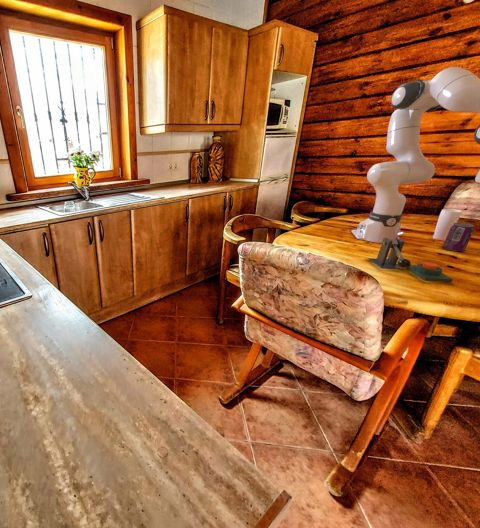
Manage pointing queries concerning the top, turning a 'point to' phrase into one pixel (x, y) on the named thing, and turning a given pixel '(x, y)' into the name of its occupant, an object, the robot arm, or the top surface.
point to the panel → (429, 273)
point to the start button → (430, 265)
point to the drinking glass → (446, 223)
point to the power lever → (399, 255)
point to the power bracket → (383, 253)
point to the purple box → (458, 236)
